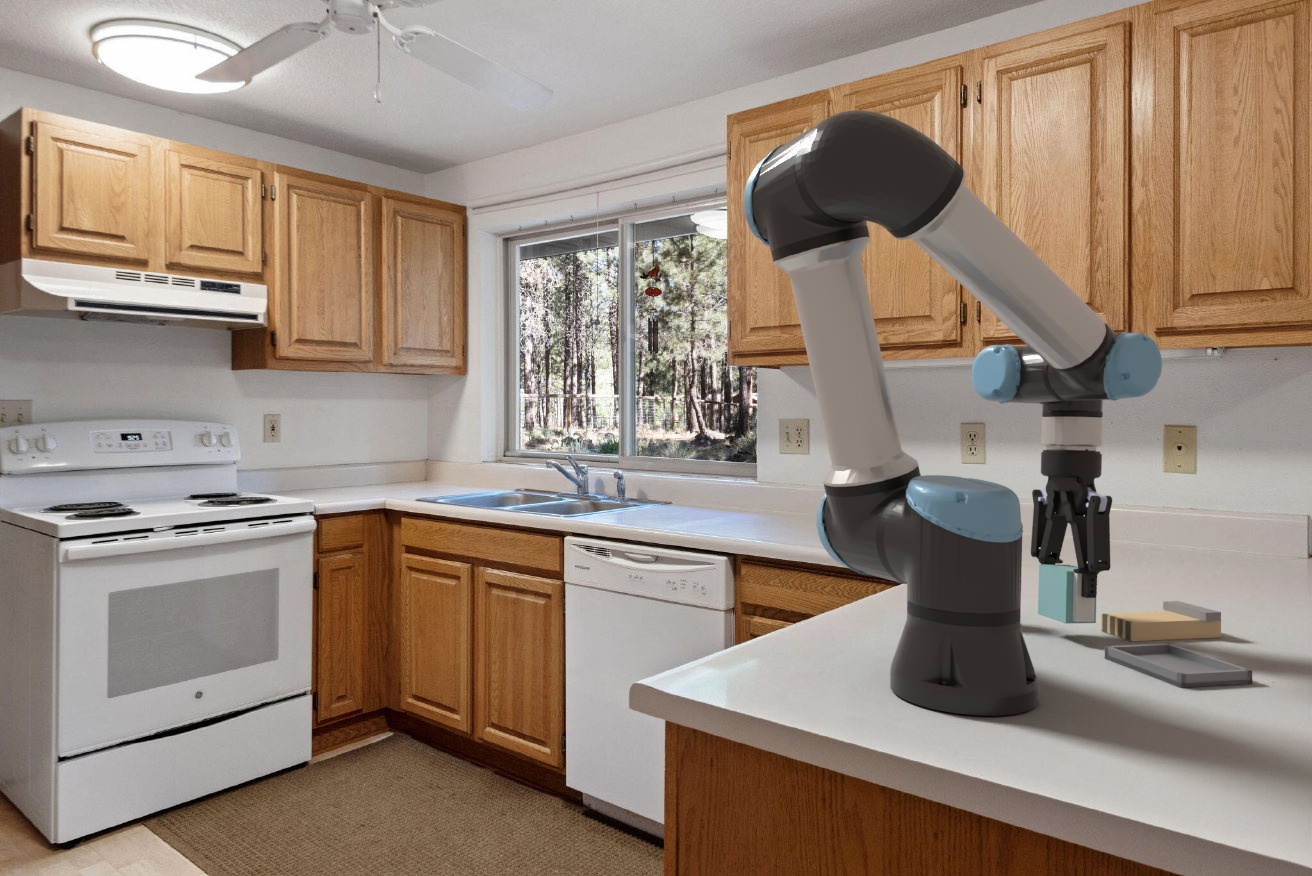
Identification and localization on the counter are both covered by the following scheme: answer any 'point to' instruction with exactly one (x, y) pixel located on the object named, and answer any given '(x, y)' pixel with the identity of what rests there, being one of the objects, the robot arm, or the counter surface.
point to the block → (1057, 593)
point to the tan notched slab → (1164, 623)
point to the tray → (1178, 665)
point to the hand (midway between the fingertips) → (1066, 615)
